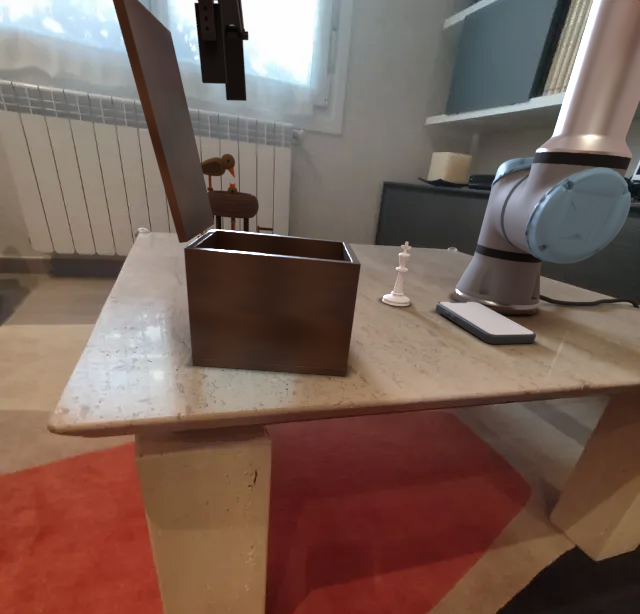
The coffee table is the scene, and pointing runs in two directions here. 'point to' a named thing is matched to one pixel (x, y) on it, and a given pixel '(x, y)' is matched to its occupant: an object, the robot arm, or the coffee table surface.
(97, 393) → the coffee table surface
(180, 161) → the lid
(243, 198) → the bird figurine
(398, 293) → the chess piece
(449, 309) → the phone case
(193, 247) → the chest
